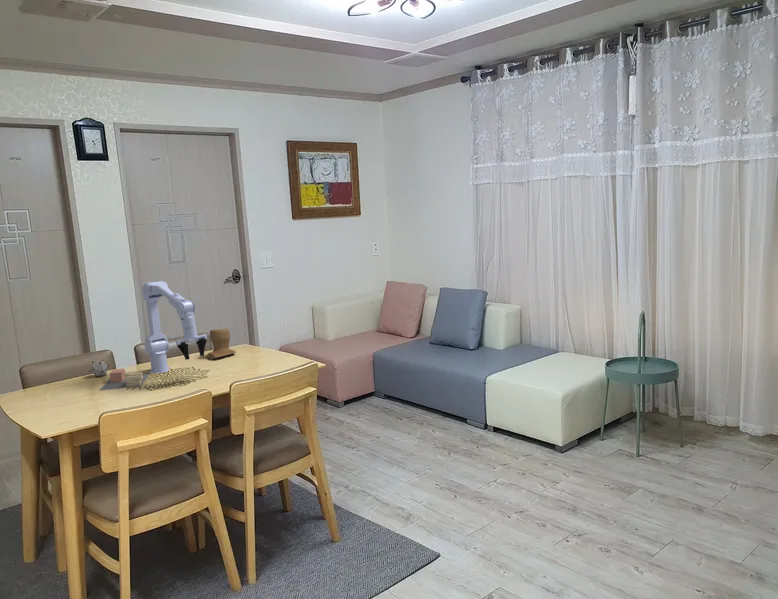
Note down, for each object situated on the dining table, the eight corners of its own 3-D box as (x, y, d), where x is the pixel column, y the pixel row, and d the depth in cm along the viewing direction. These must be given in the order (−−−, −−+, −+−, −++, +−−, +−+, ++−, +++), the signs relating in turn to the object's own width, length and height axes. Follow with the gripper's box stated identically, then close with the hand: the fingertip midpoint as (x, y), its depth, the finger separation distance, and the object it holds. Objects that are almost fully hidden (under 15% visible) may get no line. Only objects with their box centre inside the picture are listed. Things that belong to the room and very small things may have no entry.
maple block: (130, 382, 276) (129, 373, 275) (143, 380, 277) (142, 372, 276) (126, 386, 269) (125, 377, 268) (139, 385, 270) (139, 376, 269)
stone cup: (225, 352, 330) (222, 325, 328) (239, 354, 323) (236, 326, 321) (201, 358, 318) (198, 330, 316) (215, 360, 311) (213, 332, 309)
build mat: (111, 378, 286) (111, 377, 286) (150, 374, 289) (149, 374, 289) (99, 391, 264) (99, 390, 264) (140, 387, 268) (140, 386, 267)
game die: (96, 384, 290) (81, 370, 287) (108, 374, 297) (93, 359, 294) (106, 377, 285) (90, 362, 283) (117, 367, 292) (102, 352, 290)
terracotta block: (114, 379, 283) (113, 369, 282) (125, 377, 284) (124, 368, 283) (110, 382, 276) (109, 373, 275) (122, 381, 277) (121, 372, 276)
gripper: (179, 330, 264) (185, 360, 265) (208, 324, 276) (213, 353, 276) (171, 331, 269) (176, 361, 269) (199, 325, 280) (204, 354, 280)
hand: (194, 357), depth 273 cm, fingers open, 7 cm apart
